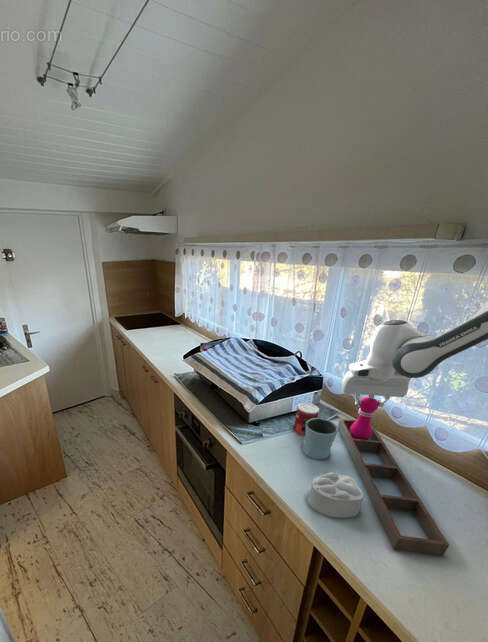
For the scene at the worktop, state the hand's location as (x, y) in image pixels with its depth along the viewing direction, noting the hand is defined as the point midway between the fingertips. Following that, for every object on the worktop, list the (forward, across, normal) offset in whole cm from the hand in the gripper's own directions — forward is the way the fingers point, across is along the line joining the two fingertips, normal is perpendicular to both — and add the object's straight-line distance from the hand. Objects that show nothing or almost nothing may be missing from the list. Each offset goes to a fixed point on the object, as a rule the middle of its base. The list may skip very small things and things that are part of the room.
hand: (368, 405), depth 108 cm
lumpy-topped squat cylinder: (+16, +17, +34) cm, 42 cm away
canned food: (+16, +19, -4) cm, 25 cm away
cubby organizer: (+16, 0, +20) cm, 26 cm away
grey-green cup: (+16, +17, +10) cm, 26 cm away
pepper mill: (+16, 0, 0) cm, 16 cm away
